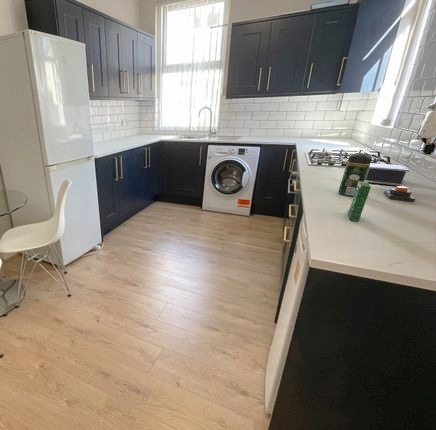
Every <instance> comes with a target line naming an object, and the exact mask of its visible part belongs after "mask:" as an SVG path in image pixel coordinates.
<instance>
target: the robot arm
mask: <svg viewBox="0 0 436 430" xmlns="http://www.w3.org/2000/svg"><path fill="white" fill-rule="evenodd" d="M426 109H429V110H430V111H427V112H426V114H425V115H424V117H423V119H422V120H421V122H420V125H419V127H418V129H417V131H416V135H415V137H414V139H415V140H418V141H421V142H423V144H424V145H423V148H422V154H423V155H425V156H426V155H429V156H430V155H432V153H433V154H434V152H435V149H436V96H435V98H434V100H433V102H432V103H431V104H427V105H426ZM433 138H434V139H433ZM432 139H433V140H432Z"/></svg>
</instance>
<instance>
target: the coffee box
mask: <svg viewBox="0 0 436 430" xmlns="http://www.w3.org/2000/svg"><path fill="white" fill-rule="evenodd" d="M368 182H369V181H365V182H362V181H359V182H358V185H357V188H356V191H355V194H354V196H352V201H351V204H350V207H349V210H348V213H347V215H349V216H348V220H349V221H350V220H353V221H352V222H356V221H358V222H360V219H361V217H362V213H363V210H364V207H365V204H366V202H367V199H368V197H369V193H370V191H371V188H372V186H371V184H368Z"/></svg>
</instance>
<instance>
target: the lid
mask: <svg viewBox="0 0 436 430" xmlns="http://www.w3.org/2000/svg"><path fill="white" fill-rule="evenodd" d="M369 168H370V169H382V170H394V171H405V172H406V173H407V172H410V169H409V168H407V167H406V166H405V165H403V164H388V163H376V162H375V163H373V162H371V163H370V166H369Z"/></svg>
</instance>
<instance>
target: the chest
mask: <svg viewBox="0 0 436 430" xmlns="http://www.w3.org/2000/svg"><path fill="white" fill-rule="evenodd" d="M406 173H407V171H394V170H382V169H370V168H369V169H368V172H367V175H366V178H365V181H364V182H366V181H367V182H368V184H369V185H374V186H382V187H383V186H384V187H390V188H391V187H392V188H396V187H397V186H402V183H403V182H404V181H403V180H404V178H405V176H406Z"/></svg>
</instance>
